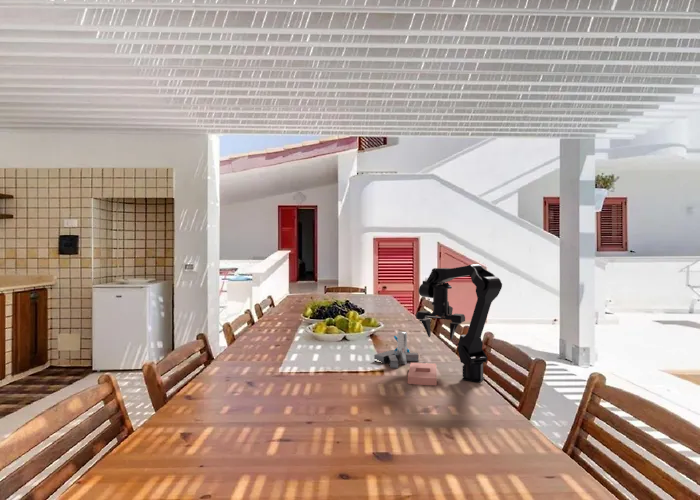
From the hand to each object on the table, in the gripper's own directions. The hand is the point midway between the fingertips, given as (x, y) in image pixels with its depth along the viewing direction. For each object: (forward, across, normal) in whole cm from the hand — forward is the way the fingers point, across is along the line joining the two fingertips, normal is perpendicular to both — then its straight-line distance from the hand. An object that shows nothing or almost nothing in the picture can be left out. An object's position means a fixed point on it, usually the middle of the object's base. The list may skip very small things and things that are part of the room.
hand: (440, 338), depth 179 cm
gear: (+12, +25, -17) cm, 33 cm away
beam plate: (+12, +1, +15) cm, 19 cm away
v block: (+12, +19, +1) cm, 23 cm away
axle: (+12, +16, +2) cm, 20 cm away
